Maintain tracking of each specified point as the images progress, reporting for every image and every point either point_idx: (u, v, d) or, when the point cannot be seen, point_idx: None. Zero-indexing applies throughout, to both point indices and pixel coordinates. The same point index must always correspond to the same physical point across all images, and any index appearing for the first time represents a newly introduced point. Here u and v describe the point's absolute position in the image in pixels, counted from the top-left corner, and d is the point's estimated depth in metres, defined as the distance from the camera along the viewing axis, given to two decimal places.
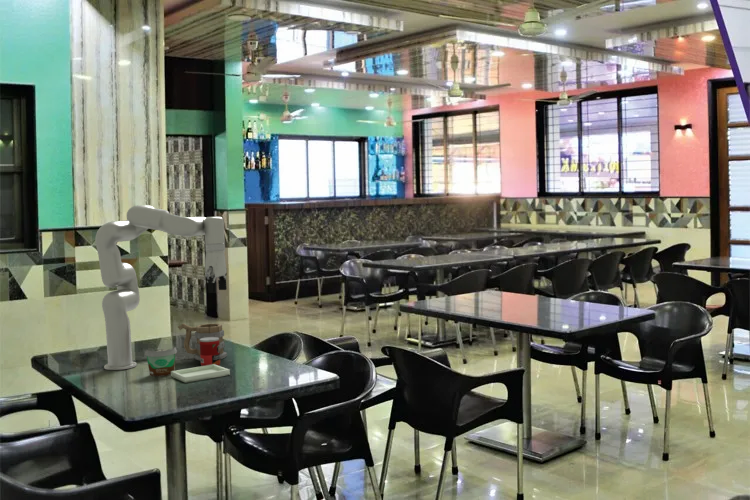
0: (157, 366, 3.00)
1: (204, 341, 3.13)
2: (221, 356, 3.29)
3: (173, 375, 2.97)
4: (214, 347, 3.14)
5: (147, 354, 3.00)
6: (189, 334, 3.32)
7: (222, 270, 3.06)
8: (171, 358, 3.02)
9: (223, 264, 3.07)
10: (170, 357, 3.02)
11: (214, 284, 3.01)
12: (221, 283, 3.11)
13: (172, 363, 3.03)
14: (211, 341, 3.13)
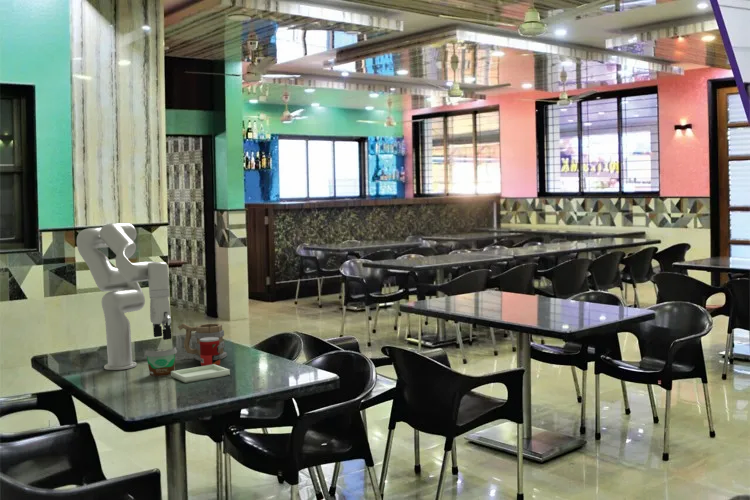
0: (157, 366, 3.00)
1: (204, 341, 3.13)
2: (221, 356, 3.29)
3: (173, 375, 2.97)
4: (214, 347, 3.14)
5: (147, 354, 3.00)
6: (189, 334, 3.32)
7: None
8: (171, 358, 3.02)
9: None
10: (170, 357, 3.02)
11: (170, 330, 2.98)
12: (157, 330, 3.04)
13: (172, 363, 3.03)
14: (211, 341, 3.13)
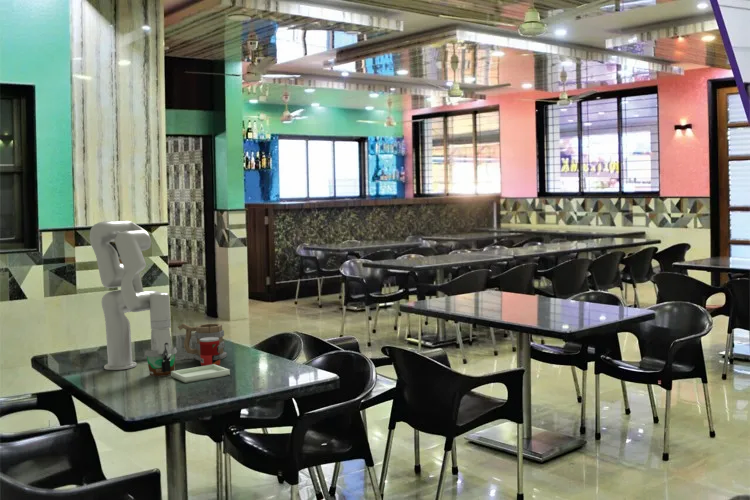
0: (157, 366, 3.00)
1: (204, 341, 3.13)
2: (221, 356, 3.29)
3: (173, 375, 2.97)
4: (214, 347, 3.14)
5: (147, 354, 3.00)
6: (189, 334, 3.32)
7: None
8: (171, 358, 3.02)
9: None
10: (170, 357, 3.02)
11: (169, 362, 3.00)
12: None
13: (172, 363, 3.03)
14: (211, 341, 3.13)
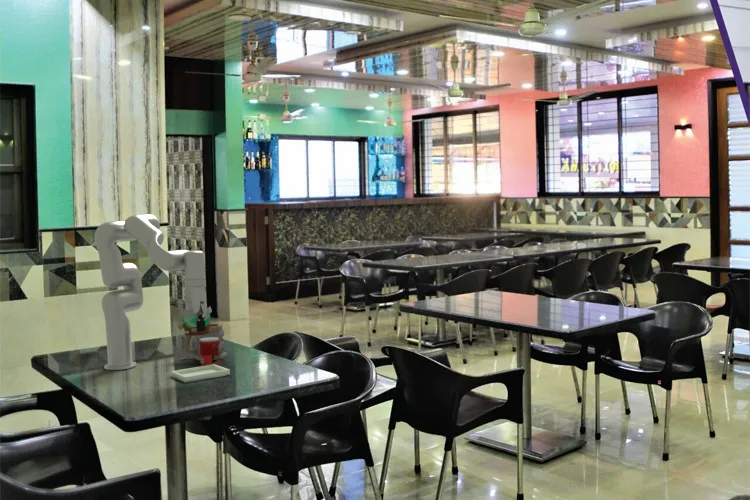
0: (193, 325, 2.94)
1: (204, 341, 3.13)
2: (221, 356, 3.29)
3: (173, 375, 2.97)
4: (214, 347, 3.14)
5: (182, 313, 2.95)
6: None
7: None
8: (206, 317, 2.97)
9: None
10: (205, 316, 2.96)
11: (204, 322, 2.95)
12: None
13: (207, 322, 2.98)
14: (211, 341, 3.13)
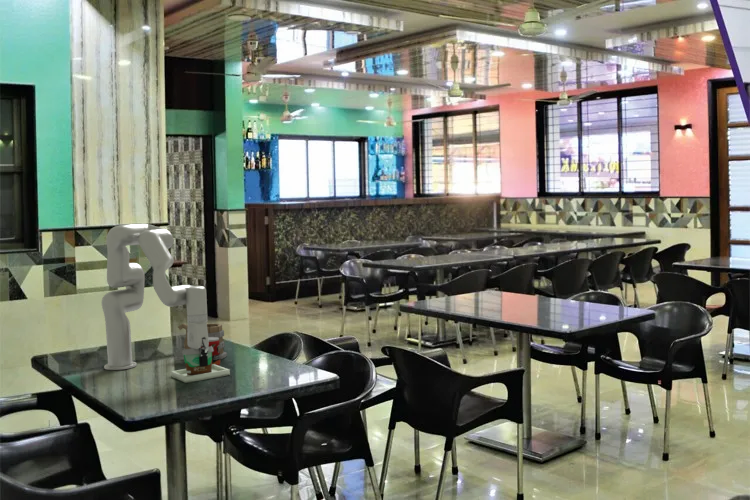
0: (195, 364, 2.95)
1: None
2: (221, 356, 3.29)
3: (173, 375, 2.97)
4: (214, 347, 3.14)
5: (184, 352, 2.96)
6: None
7: None
8: (208, 356, 2.98)
9: None
10: None
11: (207, 357, 2.96)
12: None
13: (209, 361, 2.99)
14: (211, 341, 3.13)
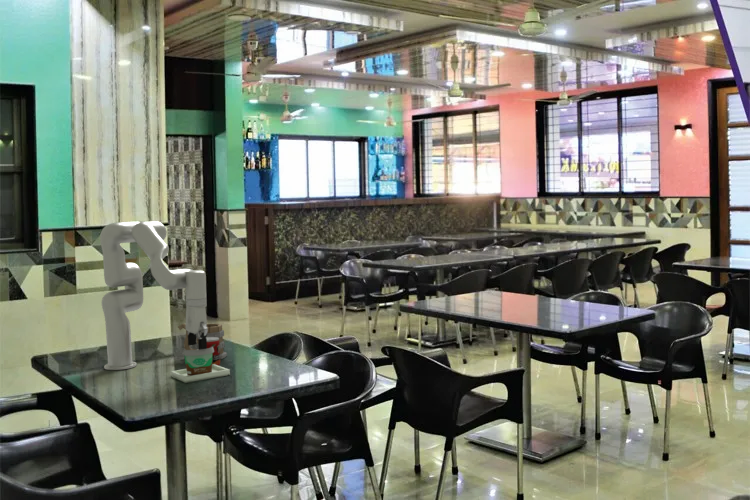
0: (195, 365, 2.95)
1: None
2: (221, 356, 3.29)
3: (173, 375, 2.97)
4: (214, 347, 3.14)
5: (185, 353, 2.95)
6: None
7: None
8: (209, 357, 2.97)
9: None
10: (208, 356, 2.97)
11: (206, 340, 2.95)
12: (192, 338, 3.02)
13: (210, 362, 2.98)
14: (211, 341, 3.13)
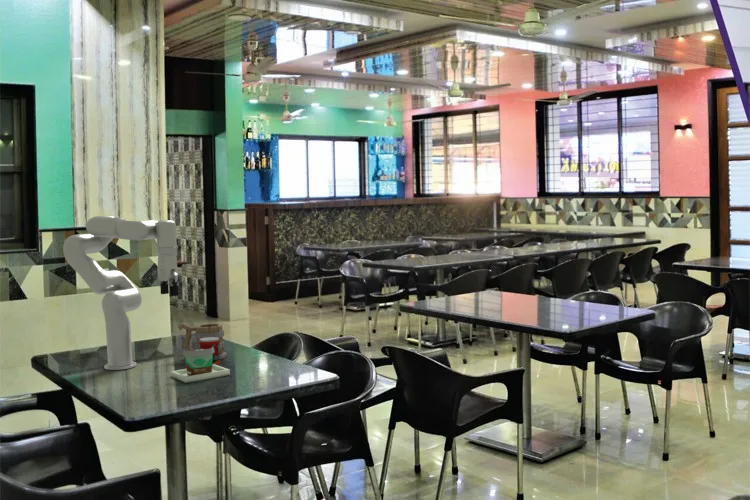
0: (195, 366, 2.95)
1: (204, 341, 3.13)
2: (221, 356, 3.29)
3: (173, 375, 2.97)
4: (214, 347, 3.14)
5: (185, 354, 2.95)
6: (189, 334, 3.32)
7: None
8: (209, 358, 2.97)
9: None
10: (208, 357, 2.97)
11: (177, 287, 3.04)
12: (164, 287, 3.11)
13: (210, 363, 2.98)
14: (211, 341, 3.13)
